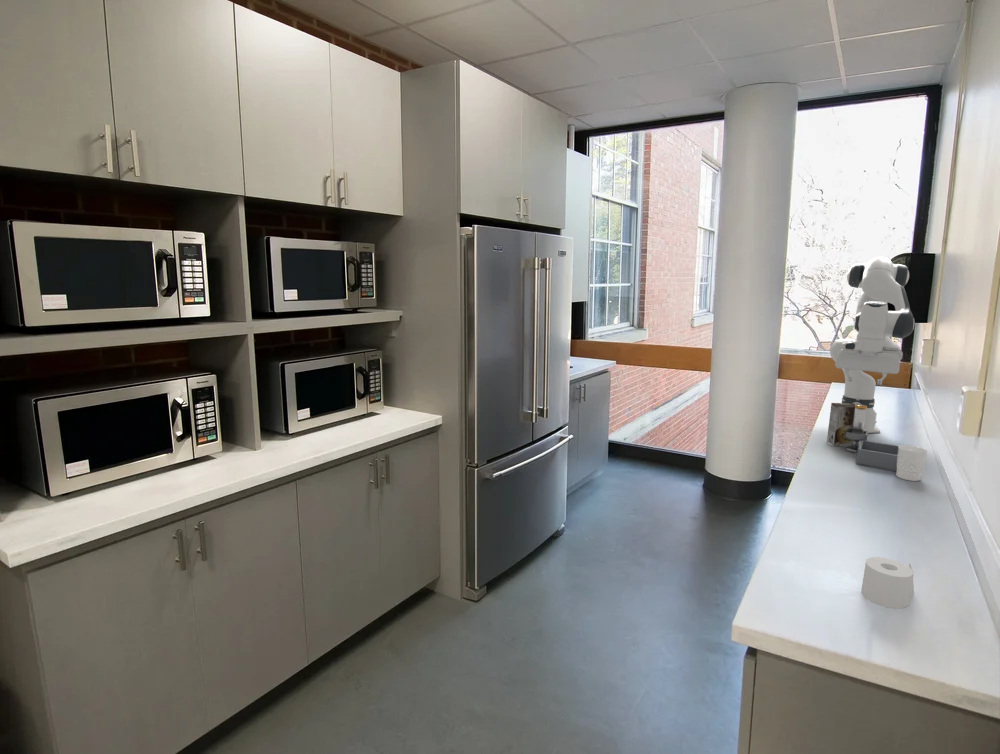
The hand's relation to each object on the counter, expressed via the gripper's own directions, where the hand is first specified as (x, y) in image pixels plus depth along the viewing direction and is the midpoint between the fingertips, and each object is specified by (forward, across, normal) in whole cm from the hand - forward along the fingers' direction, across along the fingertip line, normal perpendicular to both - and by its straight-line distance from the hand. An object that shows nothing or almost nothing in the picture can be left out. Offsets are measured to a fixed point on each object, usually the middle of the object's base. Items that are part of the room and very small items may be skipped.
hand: (864, 382), depth 217 cm
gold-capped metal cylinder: (+21, 0, 0) cm, 21 cm away
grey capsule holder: (+26, 0, 0) cm, 26 cm away
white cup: (+27, -17, +23) cm, 39 cm away
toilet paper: (+28, -15, +114) cm, 119 cm away
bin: (+26, -9, +11) cm, 30 cm away
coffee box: (+27, +5, -7) cm, 28 cm away
